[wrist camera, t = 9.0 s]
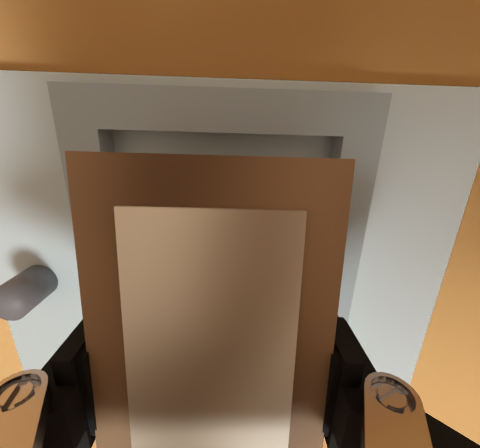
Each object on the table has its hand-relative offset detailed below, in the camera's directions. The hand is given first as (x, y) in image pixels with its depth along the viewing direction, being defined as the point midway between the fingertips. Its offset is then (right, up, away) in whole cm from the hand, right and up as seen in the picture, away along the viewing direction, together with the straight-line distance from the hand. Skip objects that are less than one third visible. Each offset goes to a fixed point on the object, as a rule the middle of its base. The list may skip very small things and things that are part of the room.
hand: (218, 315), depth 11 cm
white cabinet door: (0, +1, +3) cm, 3 cm away
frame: (0, 0, 0) cm, 0 cm away
